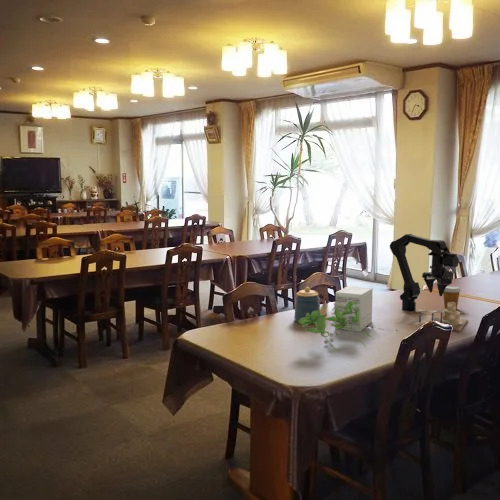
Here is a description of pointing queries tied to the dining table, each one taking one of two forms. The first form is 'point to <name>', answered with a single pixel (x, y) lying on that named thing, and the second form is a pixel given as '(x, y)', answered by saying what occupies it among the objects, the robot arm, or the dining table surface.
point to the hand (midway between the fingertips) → (435, 294)
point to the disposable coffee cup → (451, 295)
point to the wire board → (422, 319)
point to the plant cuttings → (339, 318)
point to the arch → (451, 310)
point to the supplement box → (363, 302)
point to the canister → (306, 303)
